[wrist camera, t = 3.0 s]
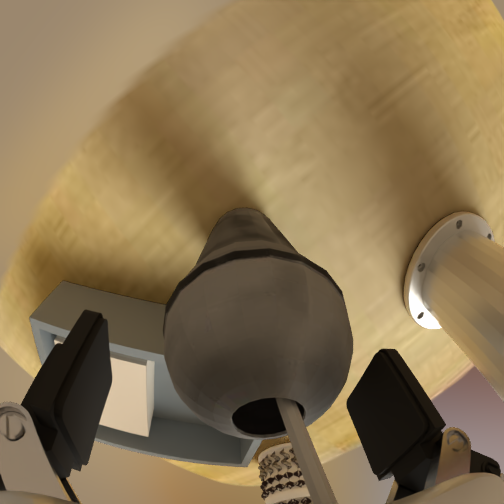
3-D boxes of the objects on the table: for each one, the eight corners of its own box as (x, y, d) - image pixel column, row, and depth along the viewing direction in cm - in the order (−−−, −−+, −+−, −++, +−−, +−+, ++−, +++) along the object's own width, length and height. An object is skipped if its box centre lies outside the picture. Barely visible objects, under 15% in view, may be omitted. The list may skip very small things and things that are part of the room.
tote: (283, 324, 25) (296, 372, 19) (244, 426, 30) (247, 467, 25) (62, 280, 22) (29, 317, 16) (82, 394, 27) (67, 431, 22)
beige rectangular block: (155, 333, 23) (145, 365, 19) (154, 408, 27) (148, 436, 23) (72, 313, 22) (54, 339, 18) (86, 390, 26) (76, 416, 22)
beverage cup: (175, 222, 21) (40, 524, 2) (262, 169, 20) (493, 459, 1) (228, 296, 23) (237, 574, 5) (308, 252, 22) (451, 513, 4)
